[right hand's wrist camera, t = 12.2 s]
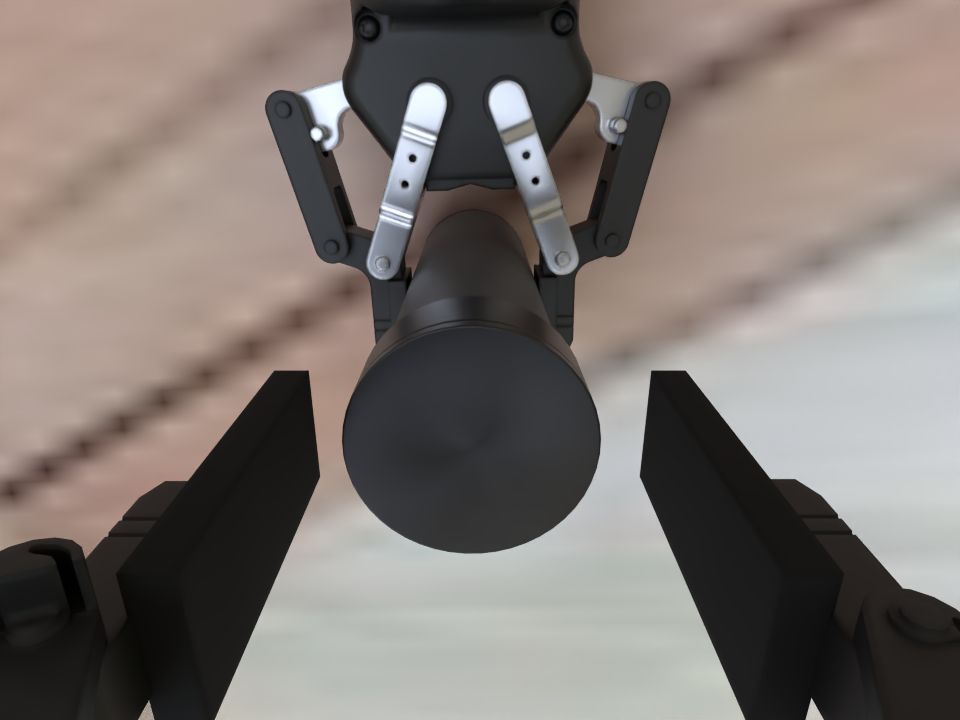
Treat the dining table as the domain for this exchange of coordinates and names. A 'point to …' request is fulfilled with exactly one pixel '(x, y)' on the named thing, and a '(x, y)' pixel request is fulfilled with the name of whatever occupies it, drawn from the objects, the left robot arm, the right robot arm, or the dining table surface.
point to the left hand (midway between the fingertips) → (475, 359)
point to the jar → (473, 264)
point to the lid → (471, 427)
